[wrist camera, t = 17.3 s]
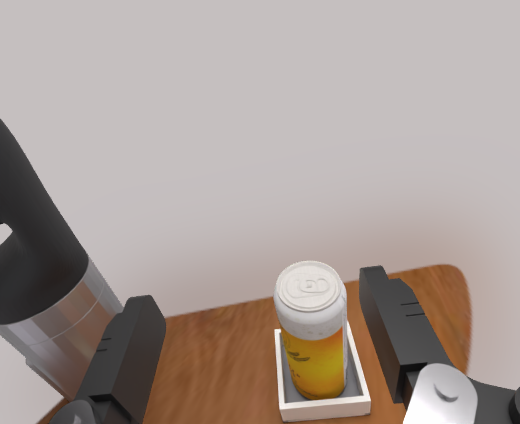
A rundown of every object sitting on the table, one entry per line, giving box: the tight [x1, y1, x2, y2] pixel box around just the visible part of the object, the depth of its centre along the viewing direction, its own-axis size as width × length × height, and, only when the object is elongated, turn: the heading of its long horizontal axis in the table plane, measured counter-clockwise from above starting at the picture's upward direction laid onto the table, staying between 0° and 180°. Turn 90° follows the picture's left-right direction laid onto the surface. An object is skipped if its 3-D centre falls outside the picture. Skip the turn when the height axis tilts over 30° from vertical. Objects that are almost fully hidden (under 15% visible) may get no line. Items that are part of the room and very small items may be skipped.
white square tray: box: [275, 321, 371, 422], centre depth 34 cm, size 9×9×3 cm
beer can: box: [273, 261, 348, 400], centre depth 30 cm, size 6×6×15 cm
